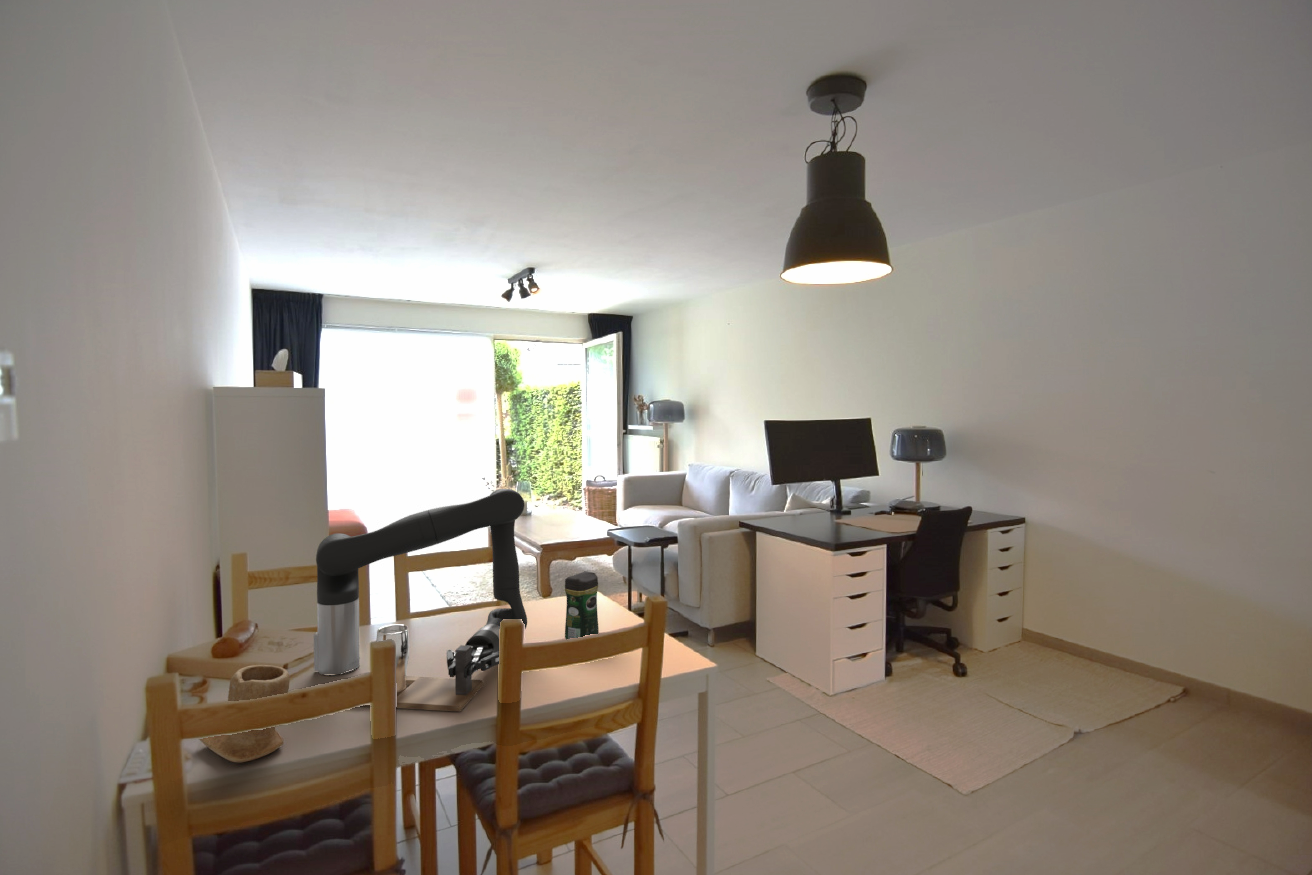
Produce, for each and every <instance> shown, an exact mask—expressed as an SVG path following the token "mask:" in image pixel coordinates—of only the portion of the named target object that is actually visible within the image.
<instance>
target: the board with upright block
mask: <svg viewBox="0 0 1312 875" xmlns="http://www.w3.org/2000/svg"><path fill="white" fill-rule="evenodd" d="M454 652H455V659H454V660H455V676H454V677H450V678H449V677H448V678H447V677H435V676H434V677H431V676H429V677H427V676H415V675H414V676H412V675H411V676H410V675H406V684H407V688H406V689H405V690H404V691H403V692H402V693H401V694H399V695H398V696H397V708H396V709H412V710H426V711H427V710H428V711H443V712H461V711H462V710H463V709H464V708H465V707H466V706H467V704H468V703H469V702H470V701H471V700H472V699H473V697H475V696H476V694H477V693H478V692H479V691H480V689H482V688H483V686H484V679H472V678H473V676H472V675H473V674H472V675H471V676H469V677H468V678H464V668H465V667H466V666H467V665H468V664H469V663H470V662H472V646H468V645H464V644H463V645H462V644H460V646H458V647H457V648H456V649H455V651H454ZM364 707H371V706H370V705H365V706H364Z"/></svg>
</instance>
